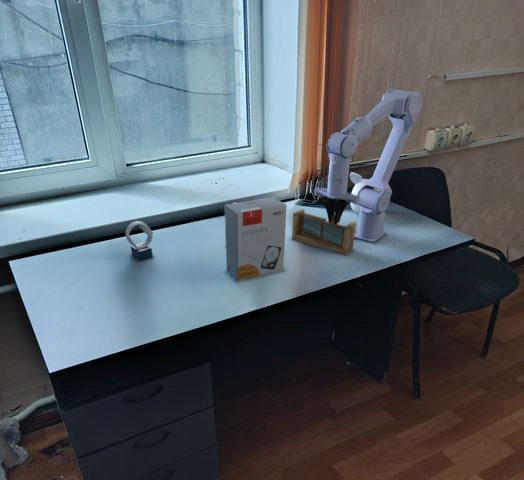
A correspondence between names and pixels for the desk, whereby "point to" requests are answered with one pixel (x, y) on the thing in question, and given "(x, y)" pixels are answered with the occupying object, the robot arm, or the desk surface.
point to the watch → (141, 249)
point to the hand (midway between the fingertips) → (333, 222)
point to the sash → (332, 232)
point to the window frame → (309, 232)
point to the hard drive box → (255, 237)
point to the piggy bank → (357, 189)
